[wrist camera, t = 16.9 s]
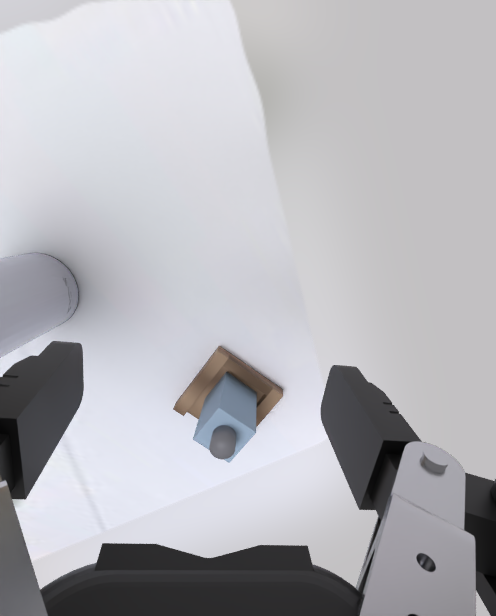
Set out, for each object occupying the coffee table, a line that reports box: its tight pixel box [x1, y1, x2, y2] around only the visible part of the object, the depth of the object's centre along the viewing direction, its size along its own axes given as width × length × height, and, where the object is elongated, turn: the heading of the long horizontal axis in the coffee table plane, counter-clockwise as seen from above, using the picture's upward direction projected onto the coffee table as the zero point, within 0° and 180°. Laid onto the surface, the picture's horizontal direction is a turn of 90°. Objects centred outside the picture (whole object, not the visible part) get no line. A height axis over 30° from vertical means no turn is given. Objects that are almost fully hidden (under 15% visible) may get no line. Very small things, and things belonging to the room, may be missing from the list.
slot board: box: [174, 346, 283, 427], centre depth 45 cm, size 10×10×2 cm
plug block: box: [193, 372, 257, 463], centre depth 40 cm, size 5×5×10 cm
